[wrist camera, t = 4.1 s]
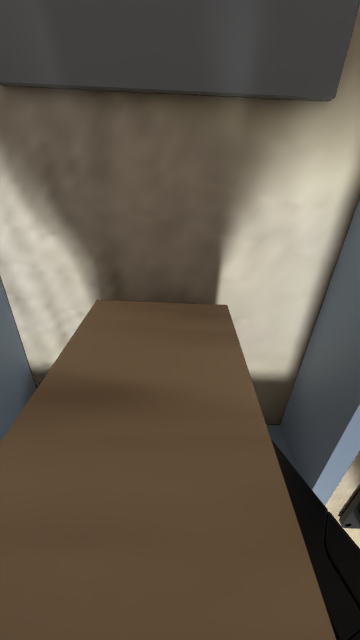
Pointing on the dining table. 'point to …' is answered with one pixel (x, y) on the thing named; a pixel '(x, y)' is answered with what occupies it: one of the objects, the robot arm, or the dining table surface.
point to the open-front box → (308, 391)
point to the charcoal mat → (178, 46)
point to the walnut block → (150, 492)
